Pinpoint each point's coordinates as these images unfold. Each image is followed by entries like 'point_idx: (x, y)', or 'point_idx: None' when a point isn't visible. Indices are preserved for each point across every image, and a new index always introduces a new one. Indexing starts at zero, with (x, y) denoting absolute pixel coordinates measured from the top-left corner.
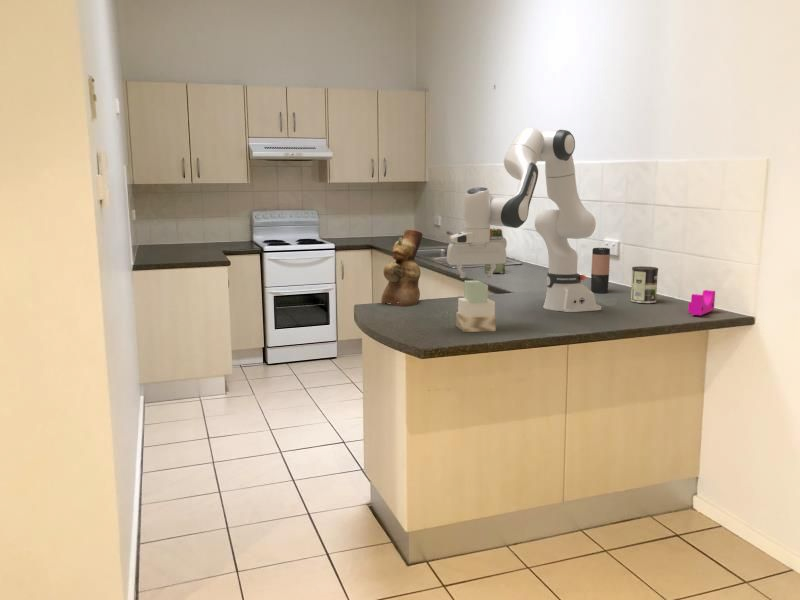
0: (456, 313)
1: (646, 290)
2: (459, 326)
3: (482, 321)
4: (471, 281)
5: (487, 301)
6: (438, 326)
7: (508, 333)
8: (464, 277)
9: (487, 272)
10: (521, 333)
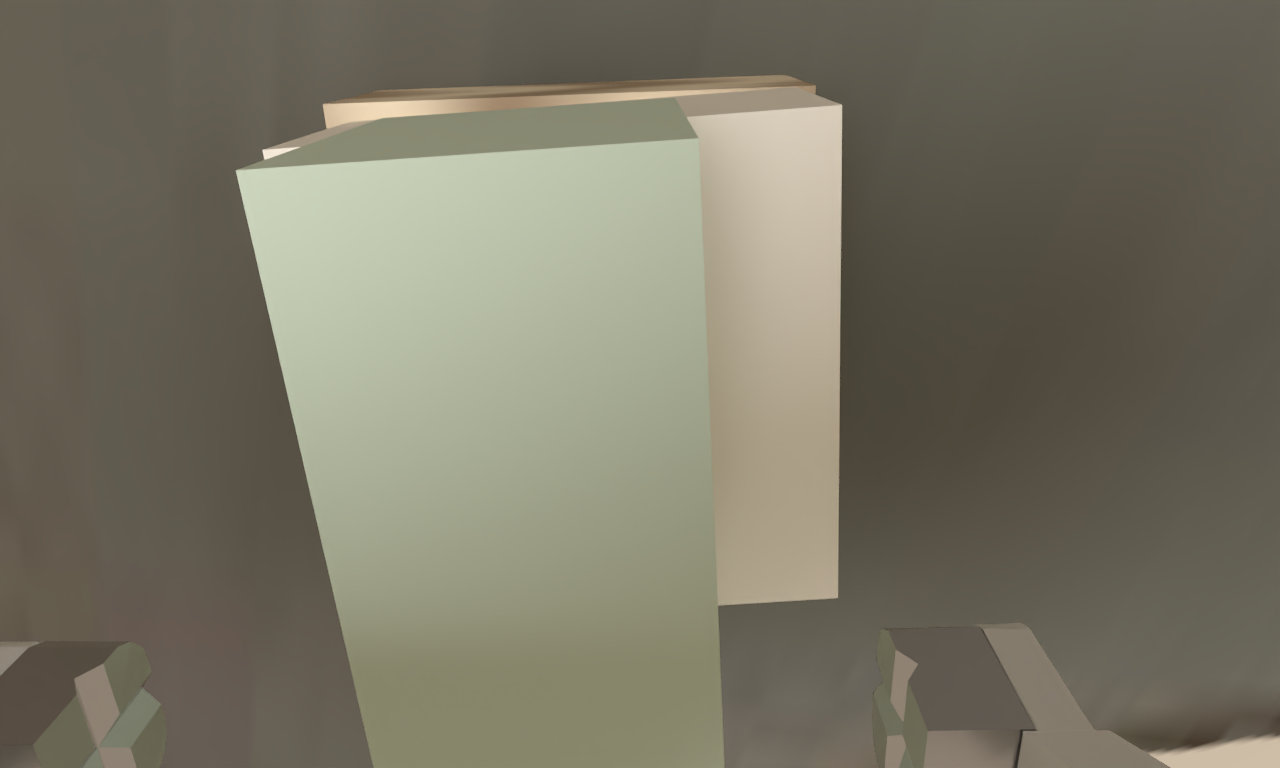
0: (331, 121)
1: None
2: None
3: None
4: (440, 354)
5: (736, 528)
6: (153, 130)
7: (865, 565)
8: (135, 760)
9: (916, 750)
10: (991, 579)
